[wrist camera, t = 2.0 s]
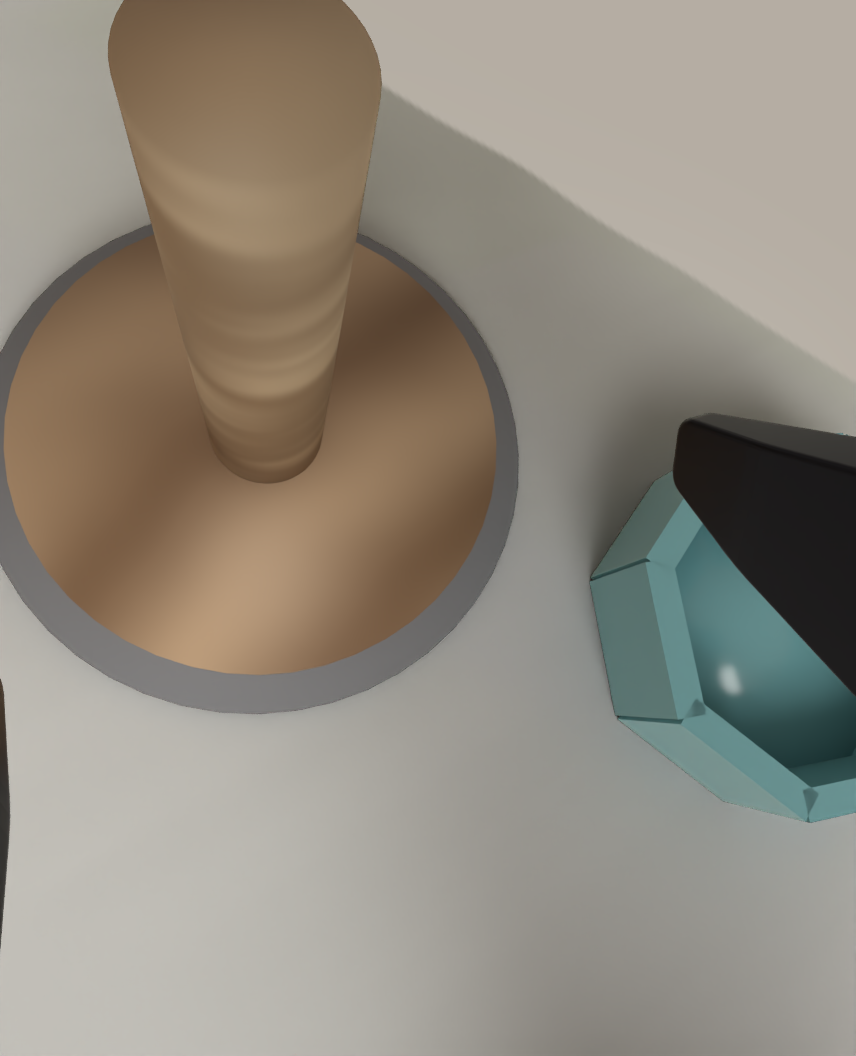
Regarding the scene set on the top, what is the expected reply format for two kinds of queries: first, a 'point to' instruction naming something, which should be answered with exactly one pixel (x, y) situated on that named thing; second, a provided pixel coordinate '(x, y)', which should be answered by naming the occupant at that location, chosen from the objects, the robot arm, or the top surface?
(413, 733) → the top surface
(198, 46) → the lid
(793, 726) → the bowl
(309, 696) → the mat
